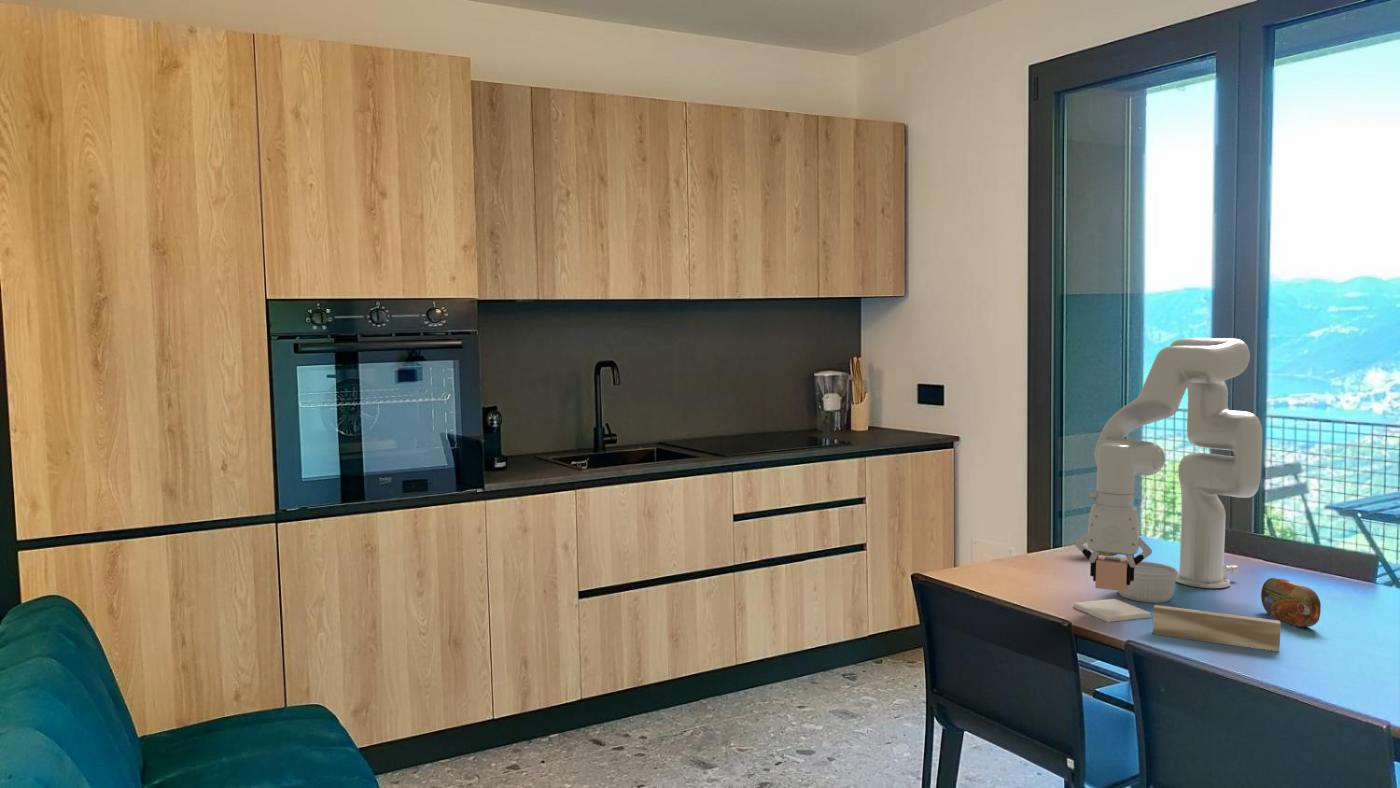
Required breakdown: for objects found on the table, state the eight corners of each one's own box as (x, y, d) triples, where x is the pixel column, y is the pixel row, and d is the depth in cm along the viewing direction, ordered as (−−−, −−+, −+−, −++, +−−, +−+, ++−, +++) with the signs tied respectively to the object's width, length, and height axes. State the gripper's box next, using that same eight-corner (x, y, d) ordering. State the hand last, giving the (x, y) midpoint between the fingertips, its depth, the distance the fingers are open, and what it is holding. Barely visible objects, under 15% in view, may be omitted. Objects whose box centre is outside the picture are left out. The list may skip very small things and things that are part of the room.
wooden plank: (1153, 631, 194) (1154, 604, 194) (1278, 648, 184) (1279, 620, 183) (1152, 634, 193) (1153, 607, 192) (1279, 651, 182) (1280, 623, 182)
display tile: (1114, 603, 214) (1114, 598, 214) (1150, 617, 204) (1150, 612, 203) (1073, 607, 211) (1073, 602, 211) (1107, 621, 200) (1108, 617, 200)
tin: (1259, 610, 208) (1260, 573, 208) (1272, 610, 209) (1274, 572, 208) (1308, 632, 193) (1310, 592, 193) (1322, 632, 194) (1324, 592, 193)
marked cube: (1098, 581, 211) (1099, 554, 210) (1127, 585, 208) (1128, 557, 207) (1095, 588, 205) (1096, 559, 205) (1125, 591, 203) (1126, 563, 202)
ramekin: (1135, 585, 229) (1136, 557, 228) (1188, 599, 217) (1189, 569, 217) (1101, 594, 221) (1102, 565, 221) (1154, 608, 210) (1155, 577, 210)
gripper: (1070, 499, 206) (1067, 580, 207) (1157, 506, 198) (1154, 591, 199) (1074, 494, 213) (1071, 573, 214) (1159, 501, 205) (1156, 583, 206)
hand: (1111, 581), depth 207 cm, fingers closed on marked cube, 6 cm apart
